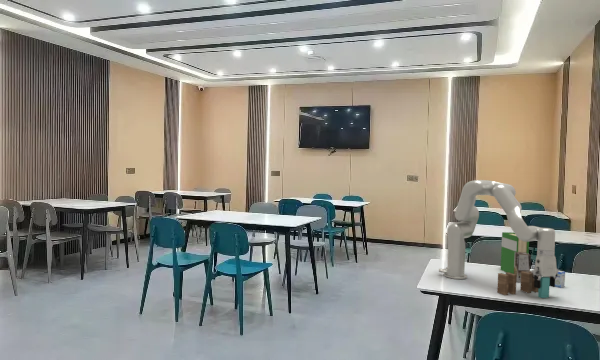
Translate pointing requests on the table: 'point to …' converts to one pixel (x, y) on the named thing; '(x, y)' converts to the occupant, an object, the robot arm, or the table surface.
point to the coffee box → (521, 264)
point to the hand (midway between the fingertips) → (544, 287)
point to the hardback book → (511, 250)
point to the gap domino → (544, 287)
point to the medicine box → (560, 279)
